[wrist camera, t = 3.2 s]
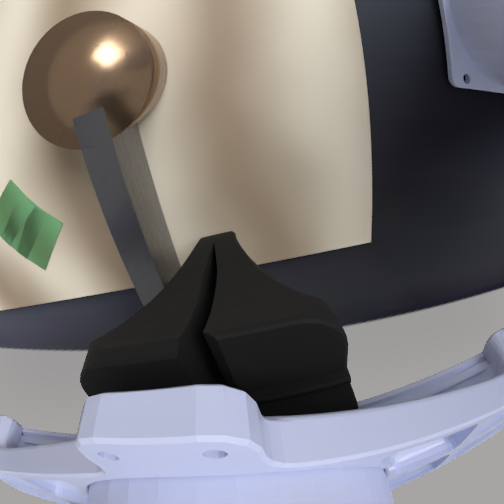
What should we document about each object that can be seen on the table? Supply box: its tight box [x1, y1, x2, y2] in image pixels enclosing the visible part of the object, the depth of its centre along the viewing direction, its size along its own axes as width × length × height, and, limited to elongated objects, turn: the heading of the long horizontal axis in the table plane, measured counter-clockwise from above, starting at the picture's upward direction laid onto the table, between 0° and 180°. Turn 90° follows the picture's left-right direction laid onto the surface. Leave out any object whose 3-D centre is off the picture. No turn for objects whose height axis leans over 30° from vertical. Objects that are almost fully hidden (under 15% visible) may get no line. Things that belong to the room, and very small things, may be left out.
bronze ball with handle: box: [22, 11, 181, 306], centre depth 9 cm, size 11×4×3 cm, turn 9°
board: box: [0, 0, 372, 311], centre depth 10 cm, size 22×16×1 cm
